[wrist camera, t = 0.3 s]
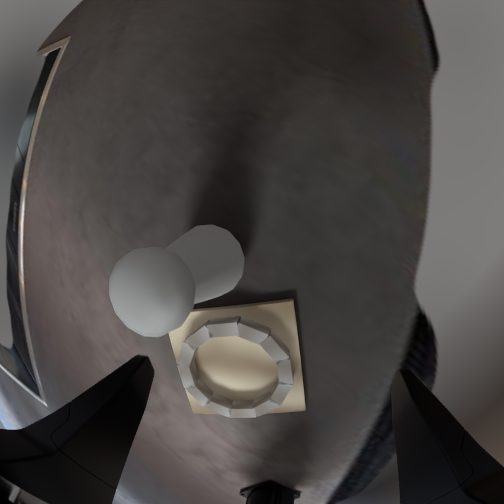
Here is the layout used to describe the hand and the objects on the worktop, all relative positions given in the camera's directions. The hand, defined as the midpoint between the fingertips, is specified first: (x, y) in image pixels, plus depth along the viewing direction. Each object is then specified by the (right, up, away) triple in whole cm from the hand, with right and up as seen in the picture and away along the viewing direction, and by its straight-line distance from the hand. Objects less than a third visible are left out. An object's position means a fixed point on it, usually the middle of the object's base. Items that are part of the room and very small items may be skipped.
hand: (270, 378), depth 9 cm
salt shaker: (-4, +4, +16) cm, 16 cm away
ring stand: (-2, -6, +16) cm, 18 cm away
